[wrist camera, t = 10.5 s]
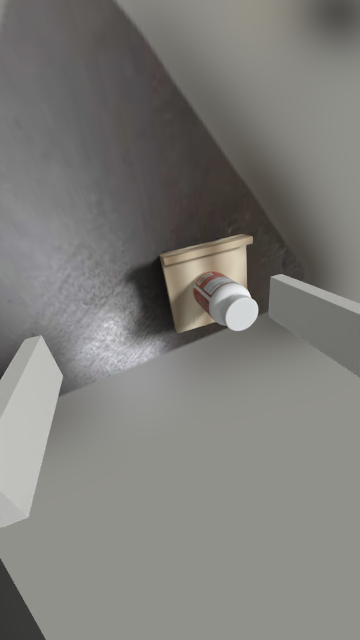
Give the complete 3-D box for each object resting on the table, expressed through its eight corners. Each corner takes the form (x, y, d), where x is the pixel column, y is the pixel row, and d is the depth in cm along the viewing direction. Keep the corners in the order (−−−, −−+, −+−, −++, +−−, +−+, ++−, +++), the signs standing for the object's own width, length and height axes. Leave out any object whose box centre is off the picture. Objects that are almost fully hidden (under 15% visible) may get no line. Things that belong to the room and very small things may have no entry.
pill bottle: (218, 307, 40) (252, 339, 31) (187, 301, 38) (213, 333, 28) (230, 273, 38) (271, 296, 28) (198, 265, 36) (230, 287, 26)
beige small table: (169, 318, 46) (180, 339, 39) (153, 248, 39) (163, 258, 32) (232, 299, 48) (253, 316, 41) (227, 231, 41) (252, 236, 34)
